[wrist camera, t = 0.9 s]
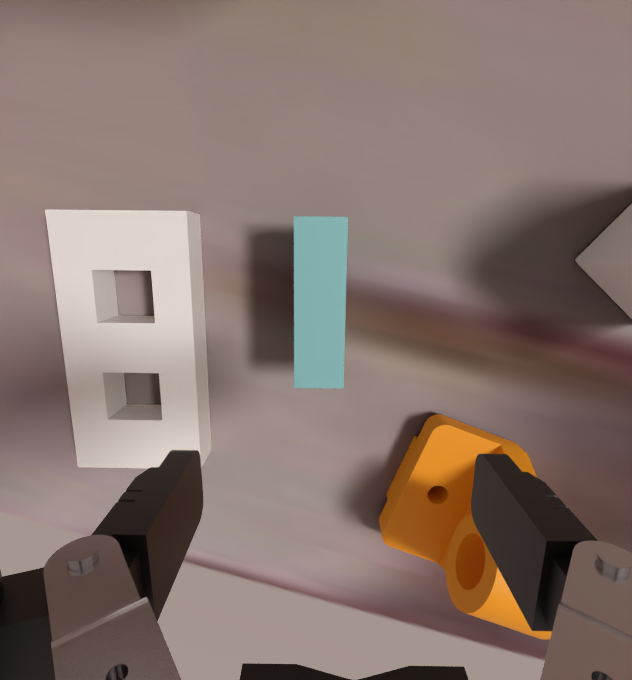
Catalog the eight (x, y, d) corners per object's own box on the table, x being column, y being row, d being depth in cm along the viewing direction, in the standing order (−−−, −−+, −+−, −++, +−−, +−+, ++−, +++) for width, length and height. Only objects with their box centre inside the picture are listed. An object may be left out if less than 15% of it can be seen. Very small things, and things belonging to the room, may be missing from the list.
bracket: (428, 406, 32) (489, 497, 21) (511, 438, 33) (617, 544, 21) (373, 519, 34) (401, 659, 23) (452, 547, 35) (519, 698, 23)
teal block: (299, 222, 29) (293, 216, 23) (341, 223, 29) (347, 217, 23) (299, 359, 31) (294, 387, 25) (338, 360, 31) (343, 388, 25)
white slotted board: (72, 213, 29) (45, 209, 26) (199, 214, 29) (186, 211, 26) (99, 447, 33) (78, 467, 30) (211, 449, 33) (200, 468, 30)
